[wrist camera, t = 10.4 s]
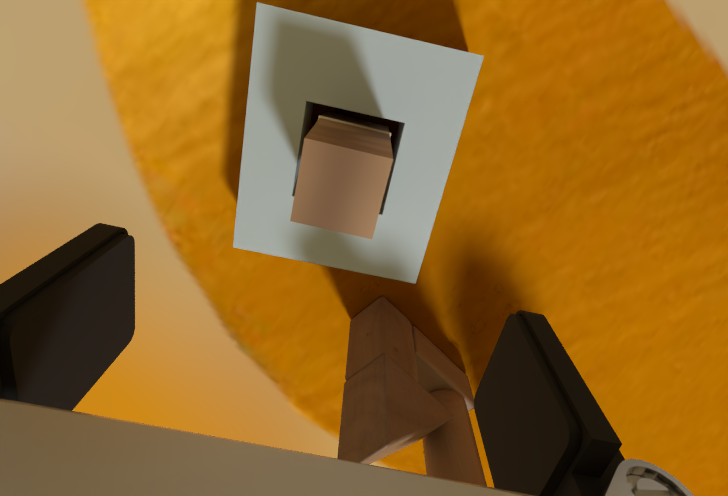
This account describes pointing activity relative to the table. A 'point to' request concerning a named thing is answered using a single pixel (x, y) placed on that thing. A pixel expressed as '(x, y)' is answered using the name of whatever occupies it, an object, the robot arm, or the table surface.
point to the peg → (343, 175)
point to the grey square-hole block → (359, 94)
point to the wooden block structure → (405, 397)
